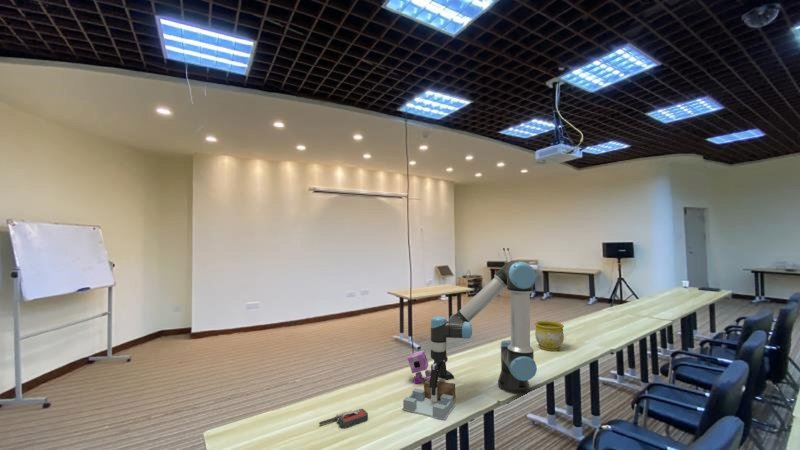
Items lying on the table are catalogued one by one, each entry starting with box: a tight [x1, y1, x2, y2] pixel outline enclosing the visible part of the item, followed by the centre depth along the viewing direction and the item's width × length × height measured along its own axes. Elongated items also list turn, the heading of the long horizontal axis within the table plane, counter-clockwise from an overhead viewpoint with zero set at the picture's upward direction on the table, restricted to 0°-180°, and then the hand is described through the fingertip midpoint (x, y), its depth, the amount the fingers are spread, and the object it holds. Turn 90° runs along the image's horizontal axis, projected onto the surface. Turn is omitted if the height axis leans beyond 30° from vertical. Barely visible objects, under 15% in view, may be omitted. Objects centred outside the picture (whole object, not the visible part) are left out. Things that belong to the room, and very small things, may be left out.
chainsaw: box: [318, 408, 369, 429], centre depth 144 cm, size 9×4×20 cm
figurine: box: [438, 355, 455, 382], centre depth 188 cm, size 8×8×12 cm
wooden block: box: [423, 379, 456, 403], centre depth 164 cm, size 14×5×8 cm, turn 65°
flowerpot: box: [534, 320, 565, 352], centre depth 235 cm, size 18×18×16 cm
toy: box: [407, 349, 431, 384], centre depth 184 cm, size 11×8×15 cm
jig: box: [401, 387, 456, 421], centre depth 155 cm, size 20×13×4 cm, turn 63°
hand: (438, 396), depth 164 cm, fingers open, 11 cm apart
